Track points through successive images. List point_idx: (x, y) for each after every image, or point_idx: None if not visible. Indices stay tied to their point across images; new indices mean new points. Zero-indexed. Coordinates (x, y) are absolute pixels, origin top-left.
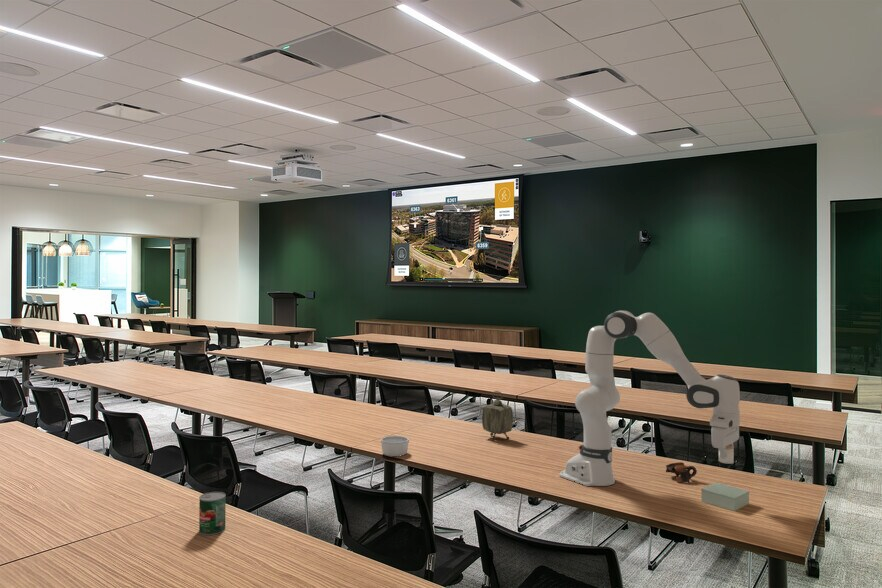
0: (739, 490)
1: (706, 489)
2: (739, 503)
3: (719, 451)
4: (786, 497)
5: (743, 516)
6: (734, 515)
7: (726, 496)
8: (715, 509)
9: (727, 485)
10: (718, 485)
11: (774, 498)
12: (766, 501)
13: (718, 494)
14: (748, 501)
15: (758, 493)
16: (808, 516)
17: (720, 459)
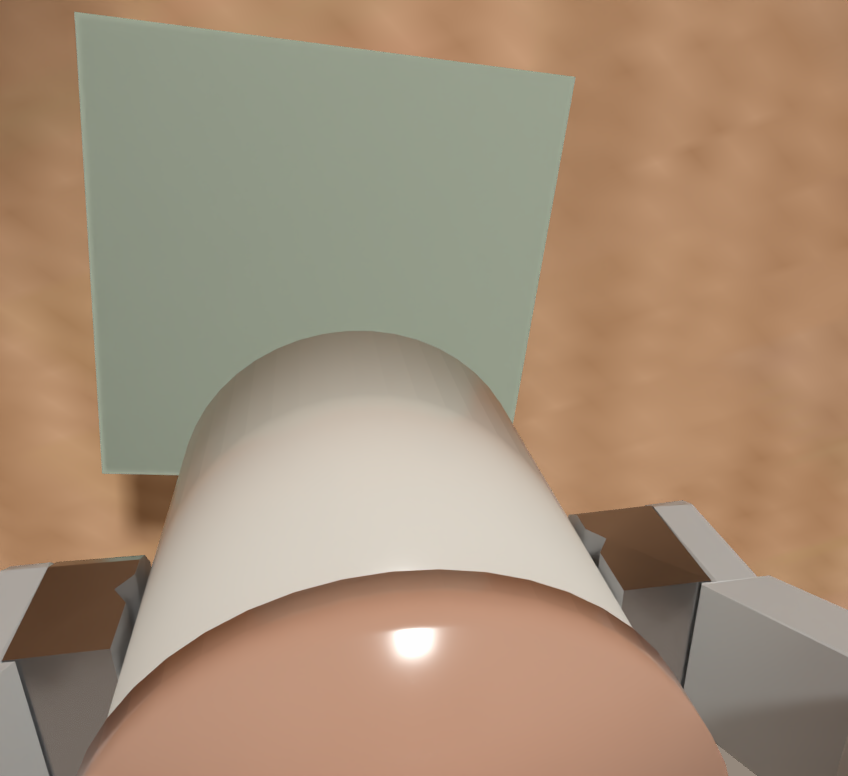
0: None
1: (117, 89)
2: None
3: (178, 556)
4: (841, 553)
5: (70, 503)
6: (16, 445)
7: (99, 379)
8: (3, 255)
9: (533, 241)
10: (447, 152)
11: (760, 506)
12: (637, 492)
13: (93, 279)
14: None
15: (823, 377)
16: None
17: (186, 457)
